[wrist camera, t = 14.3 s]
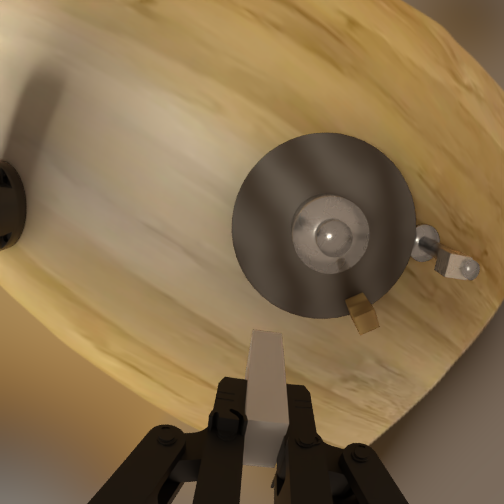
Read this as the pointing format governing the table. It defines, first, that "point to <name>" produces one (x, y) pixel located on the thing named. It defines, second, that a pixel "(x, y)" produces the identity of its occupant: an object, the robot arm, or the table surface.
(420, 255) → the dial post
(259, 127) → the table surface
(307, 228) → the cover
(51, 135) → the table surface
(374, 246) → the turntable
